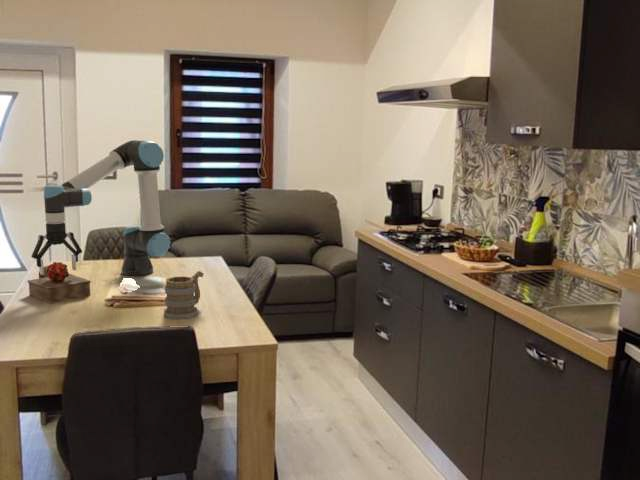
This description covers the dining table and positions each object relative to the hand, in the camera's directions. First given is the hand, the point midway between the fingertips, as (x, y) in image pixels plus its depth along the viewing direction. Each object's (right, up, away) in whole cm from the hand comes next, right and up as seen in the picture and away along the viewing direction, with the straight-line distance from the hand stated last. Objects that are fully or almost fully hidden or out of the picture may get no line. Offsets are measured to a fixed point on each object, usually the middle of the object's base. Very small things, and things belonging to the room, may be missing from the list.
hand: (58, 272), depth 276 cm
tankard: (+59, -15, -19) cm, 64 cm away
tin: (-13, -6, +24) cm, 28 cm away
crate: (0, -11, +2) cm, 11 cm away
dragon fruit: (0, -4, +1) cm, 4 cm away
